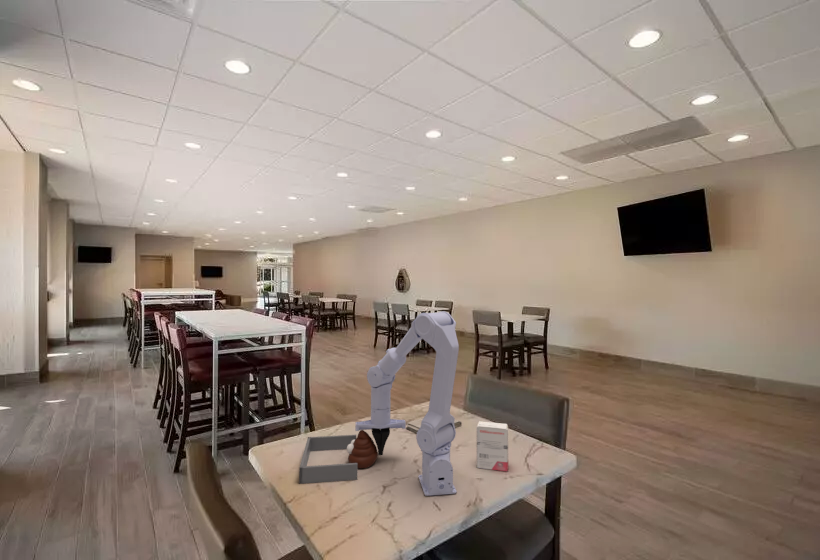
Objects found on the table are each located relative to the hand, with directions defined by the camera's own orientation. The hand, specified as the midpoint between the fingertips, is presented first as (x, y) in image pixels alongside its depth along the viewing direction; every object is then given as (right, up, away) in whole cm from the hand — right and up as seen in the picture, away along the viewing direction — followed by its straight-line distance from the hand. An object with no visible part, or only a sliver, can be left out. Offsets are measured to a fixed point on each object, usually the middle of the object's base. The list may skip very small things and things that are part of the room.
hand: (380, 453), depth 110 cm
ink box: (+32, -2, -3) cm, 32 cm away
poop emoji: (-5, -2, -1) cm, 6 cm away
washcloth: (+17, -3, +26) cm, 31 cm away
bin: (-14, -2, -2) cm, 14 cm away
